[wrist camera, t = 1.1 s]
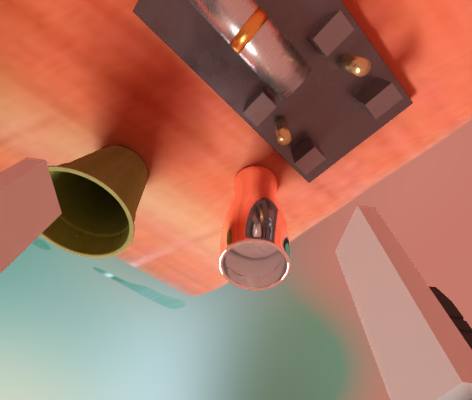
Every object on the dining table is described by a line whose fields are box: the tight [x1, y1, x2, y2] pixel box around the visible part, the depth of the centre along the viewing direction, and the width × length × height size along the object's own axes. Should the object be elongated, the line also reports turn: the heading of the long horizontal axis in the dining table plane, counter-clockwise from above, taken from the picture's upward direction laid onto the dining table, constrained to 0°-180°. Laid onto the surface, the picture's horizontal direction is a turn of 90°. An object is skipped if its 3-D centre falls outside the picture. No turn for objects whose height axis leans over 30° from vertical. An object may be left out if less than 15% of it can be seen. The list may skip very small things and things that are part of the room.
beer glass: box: [219, 166, 291, 290], centre depth 30 cm, size 7×7×15 cm
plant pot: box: [40, 145, 148, 258], centre depth 32 cm, size 12×12×11 cm
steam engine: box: [133, 0, 413, 182], centre depth 25 cm, size 27×14×6 cm, turn 47°
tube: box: [189, 0, 312, 100], centre depth 24 cm, size 14×4×4 cm, turn 47°
